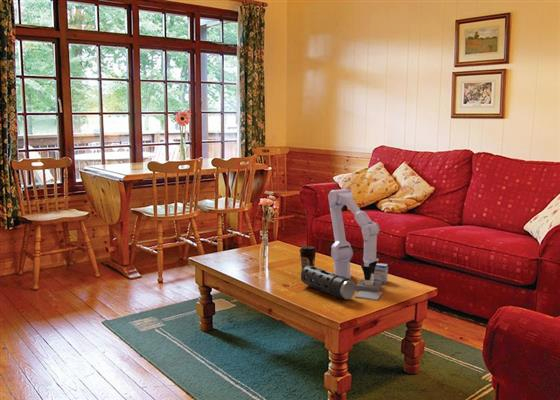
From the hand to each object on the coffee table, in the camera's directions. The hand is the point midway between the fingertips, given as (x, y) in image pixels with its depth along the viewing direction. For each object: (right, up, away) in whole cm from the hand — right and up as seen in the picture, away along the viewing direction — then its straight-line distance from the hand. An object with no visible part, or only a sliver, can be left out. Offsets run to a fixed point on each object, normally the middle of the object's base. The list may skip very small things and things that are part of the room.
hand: (369, 277), depth 252 cm
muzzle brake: (-20, -7, -6) cm, 22 cm away
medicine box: (+6, -4, +12) cm, 14 cm away
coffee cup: (-27, -1, +27) cm, 39 cm away
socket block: (0, -5, +1) cm, 5 cm away
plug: (0, -5, +1) cm, 5 cm away
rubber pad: (-2, -7, -8) cm, 11 cm away
